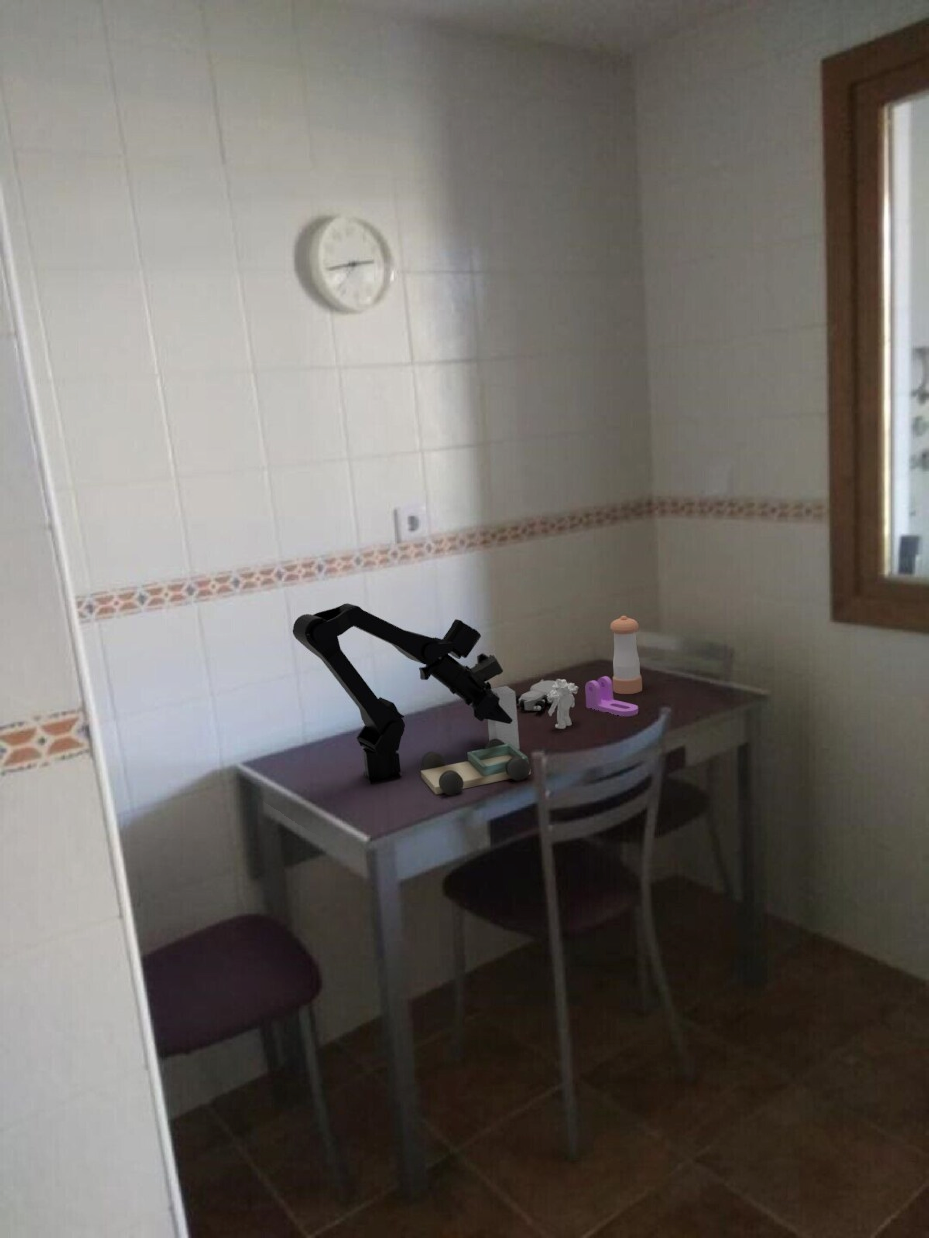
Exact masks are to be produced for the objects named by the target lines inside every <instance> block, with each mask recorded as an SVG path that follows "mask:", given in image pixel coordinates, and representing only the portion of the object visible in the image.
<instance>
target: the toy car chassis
mask: <svg viewBox="0 0 929 1238" xmlns="http://www.w3.org/2000/svg"><path fill="white" fill-rule="evenodd" d="M466 755H467V761H462V762H457V763H452V764H447V765H445V764H446V763H445V759H444V758H443V756H441V755H440V753H439V752H437V751H433V750H432V751H428V752H426V753H425V754H424V755H423V756H422V759H421V762H420V763H421V767H422V769H423V770H420V776H421V778H420V779H422V780H423V781H424V783H426V785H427V787H429V788H430V790H431V791H432V792H433V793H434V794H435V795H436V796H437V795H441V794H446V795H448V796H455V795H457V794H459V793H460V792H461V791H462V790H464V789H468V788H473V787H477V786H478V787H479V786H483V785H487V784H492V783H496V782H502V781H505V780H510V779H511V780H514V781H516V782H519V781H520V782H521V781H523V780H525V779H526V778H528V776H529V775H531V767H530V764H529V757H528V756H527V755H526V754H525V753H523V752H522V751H520V749H517V748H515V747H514V746H513V745H512V744H505V743H504V742H502V741H501V740H500V739H492V740H490V741H488V742H487V743H486V744H485V748H483V749H482V748H481V749H477V750H472V751H467V753H466Z"/></svg>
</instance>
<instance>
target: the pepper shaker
mask: <svg viewBox="0 0 929 1238" xmlns="http://www.w3.org/2000/svg"><path fill="white" fill-rule="evenodd" d="M609 628H610V631H611V633H613V646H614V651H613V661H612V668H613V676H612V685H613V693H615V694H616V693H617V694H618V695H619V694H620V695H632V694H633V695H634V694H638V693H639V692H642V691H643V678H642V675H641V673H640V671H641V666H640V665H641V663H640V659H639V654H638V653H639V652H638V648H637V634H636V632H638V630H639V628H640V625H639V623H638V622H637V620H635V619H633V618H630V617H627V615H622V616H620V618H617V619H615V620H612V621H611V623H610V626H609Z"/></svg>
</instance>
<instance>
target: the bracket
mask: <svg viewBox="0 0 929 1238" xmlns="http://www.w3.org/2000/svg"><path fill="white" fill-rule="evenodd" d="M584 686H585V687H584V692H585V707H586V708H587V709H590V708H592V709H591V710H594V709H595V710H594V711H598V710H599V711H598V712H603V713H605V712H609V713H611V714H610V715H613V714H614V715H613V716H617V715H619V716H618V717H633V716H636V715H638V714H639V705H636V704H633V703H630V702H624V701H620V700H616V699H614V691H613V680H612V679H611V678H610V677H609V676H607V675H605V676H601V677H599V678H597V680H589V681H586V683H585V685H584ZM609 713H608V714H609Z"/></svg>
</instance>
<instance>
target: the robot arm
mask: <svg viewBox="0 0 929 1238" xmlns="http://www.w3.org/2000/svg"><path fill="white" fill-rule="evenodd" d="M353 627H354V628H357V629H358V630H360V631H363V632H365V633H367V634H369V635H371V636H374V637H376V638H377V639H379V640H381V641H384V642H385V643H387V644H390V645H392V647H394V648H395V649H396V650H397V651H398V652H399V653H401V654H402V655H404V656H405V657H406V658H407V659H410V660H412V661H414V662H417V663H420V664H423V665H425V666H422V667H421V666H420V667H419V668H418V670H419V672H420V673H419V676H420V677H419V678H420V680H422V681H428V680H429V678H430V677H431V676H432V677H433V678H434V679H435V680H436V681H438V682H439V683H441V684H442V685H443V686H445V687H446V688H447V689H448V690H449V692H450V693H451V694H453V695H456V696H458V697H459V698H460V699H462V700H463V702H464V704H466V705H467V706H470V705H471V706H470V707H471V708H470V709H471V713H472V715H473V717H474V718H476V719H477V720H478V721H480V722H482V721H484V720H487V721H488V720H494V721H498V722H503V723H507V724H511V722H512V721H513V720H512V719H511V717H510V716H509V715H508V714H507V713H506V712H505V711H504V709H503V708H502V707H501V706H500V705H499V700H500V698H499V696H498V695H497V693H495V692H493V691H492V690H491V689H492V685H491V683H490V682H489V681H490V680H491V679H493V678H494V677H496V676H499V675H501V674H502V673H503V672H504V669H503V668H502V665H501V664H500V662H499V661H498V659H497V658H496V656H495V655H492V654H490V655H489V654H488V655H489V656H488V655H487V654H485V653H483V652H482V653H480V654H478V655H477V656H476V660H477V661H476V663H475V664H474V666H473V667H470V666H468V665H463V664H461V663H460V662H459V661H457V660H456V659H458V660H460V659H462V658H463V659H466V658H468V656H469V655H470V653H471V652H472V650H473V649H474V648H475V646H476V645H477V643H478V642H479V640H480V639H481V638H482V635H481V634H480V632H479V631H478V630H477V629H475V628H473V627H471V626H470V625H468V624H466V623H465V622H463V621H462V620H460V619H454V621H453V622H452V623H451V626H450V628H449V629H448V630H447V632H446V633H445V635H444V636H443V638H439V637H431V636H427V635H424V634H421V633H418V632H417V633H416V632H414V631H413V632H412V631H410V630H406V629H403V628H402V627H399V626H397V625H395V624H393V623H390V622H389V621H386V620H384V619H382V618H380V617H378V616H376V615H375V614H372V613H371V612H369V611H366V610H364V609H362V608H361V607H360V606H359V605H355V604H351V603H348V602H347V603H343V604H341V605H339V606H336V607H333V608H329V609H326V610H322V611H319V612H316V613H313V614H309V613H306V614H301V615H300V616H299V617H297V618H296V620H295V621H294V623H293V627H292V634H293V636H294V638H295V640H297V641H298V642H299V643H300V644H301V645H303V647H304V648H305V649H307V650H308V651H310V652H311V653H312V654H314V655H315V656H316V657H317V658H319V659H320V660H321V661H322V662H323V663H324V665H325V667H326V668H327V669H328V671H330V673H331V674H332V676H333V678H335V679H336V680H337V682H338V683H339V685H340V686H341V687H342V689H343V690H344V691H345V693H347V695H348V696H349V698H350V699H351V700H352V701H353V702H354V704H355V705H356V706H357V708H358V709H359V713H360V717H361V718H360V719H361V720H362V723H364V726H363V728H362V729H361V730H360V732H359V733H358V734H357V737H356V741H357V742H358V744H359V747H360V746H361V747H363V748H362V753H363V762H364V768H365V769H364V770H365V771H364V772H363V775H364V776H365V779H367V781H368V782H369V784H371V785H373V784H377V783H381V782H387V781H393V780H397V779H401V778H402V775H401V774H400V773H401V771H402V770H401V761H400V760H401V759H400V753H399V752H398V751H399V749H400V744H401V739H402V737H403V735H404V732H405V728H406V724H405V722H404V720H403V719H404V718H405V716H404V715H403V714H402V713H400V712H399V710H398V709H397V706H396V705H395V702H392V701H390V700H388V699H385V698H383V697H381V696H379V697H377V695H376V694H375V693H374V691H373V690H372V689H371V687H370V686H369V685H368V683H367V682H366V681H365V679H364V678H363V677H362V676H361V675H360V673H359V671H358V670H357V669H356V668H355V666H354V665H353V664H352V663H351V661H350V660H349V658H348V657H347V656H346V654H345V653H344V652H343V650H342V649H341V645H340V641H339V636H341V635H343V634H344V633H346V632H347V631H348V630H350V629H351V628H353ZM455 658H456V659H455Z"/></svg>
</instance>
